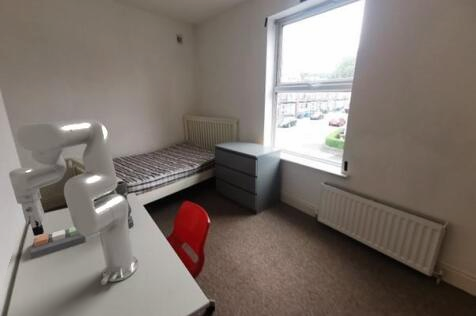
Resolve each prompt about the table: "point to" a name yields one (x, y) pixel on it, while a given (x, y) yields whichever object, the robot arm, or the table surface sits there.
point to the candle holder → (122, 190)
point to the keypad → (56, 244)
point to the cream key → (58, 235)
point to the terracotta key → (41, 240)
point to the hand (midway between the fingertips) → (39, 233)
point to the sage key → (73, 231)
